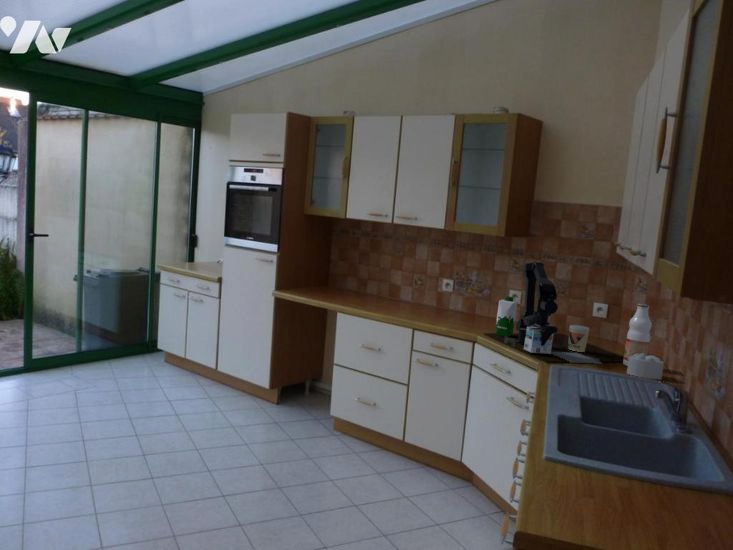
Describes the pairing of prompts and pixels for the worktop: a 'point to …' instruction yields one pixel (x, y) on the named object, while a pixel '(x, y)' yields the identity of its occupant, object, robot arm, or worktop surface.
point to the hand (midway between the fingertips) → (538, 344)
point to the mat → (575, 357)
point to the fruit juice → (638, 333)
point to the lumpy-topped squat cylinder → (645, 366)
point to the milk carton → (506, 317)
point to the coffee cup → (578, 338)
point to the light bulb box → (536, 341)
